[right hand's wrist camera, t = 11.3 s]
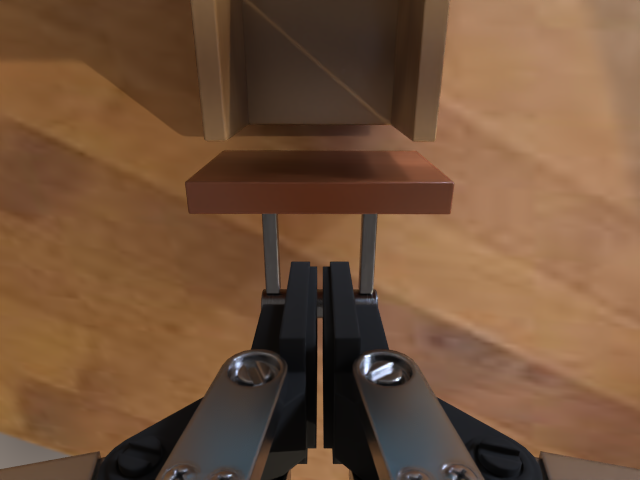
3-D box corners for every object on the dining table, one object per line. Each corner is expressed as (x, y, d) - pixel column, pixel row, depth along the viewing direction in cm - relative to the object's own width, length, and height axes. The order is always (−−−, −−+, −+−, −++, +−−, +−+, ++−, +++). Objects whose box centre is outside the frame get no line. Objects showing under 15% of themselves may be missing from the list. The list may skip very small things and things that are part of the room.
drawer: (406, 274, 23) (434, 342, 17) (233, 273, 23) (203, 341, 17) (466, -413, 14) (574, -770, 8) (175, -413, 14) (68, -770, 8)
